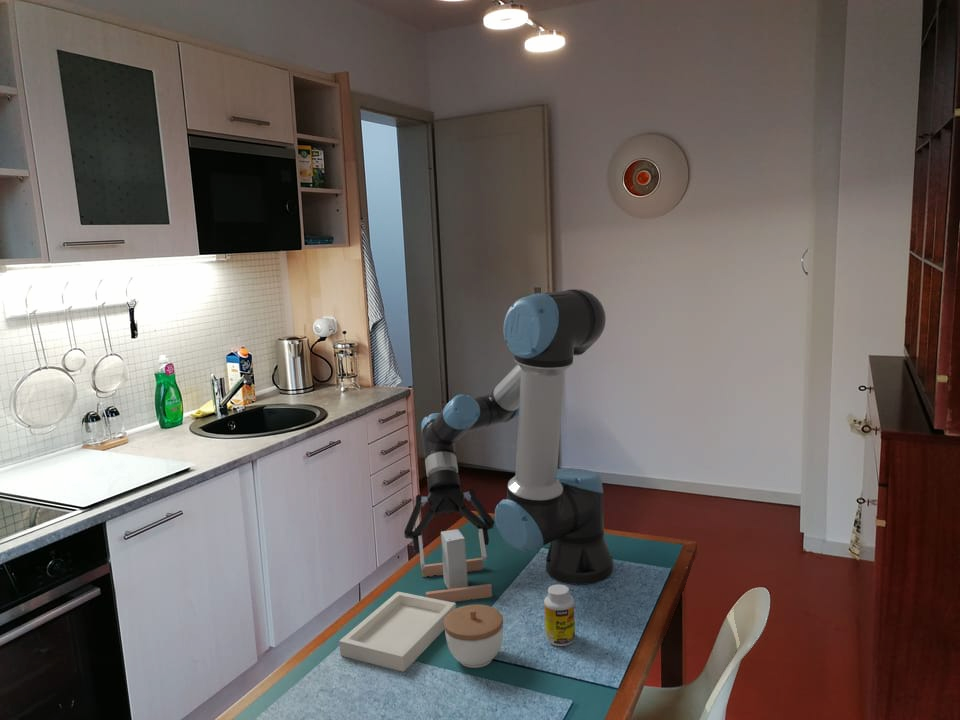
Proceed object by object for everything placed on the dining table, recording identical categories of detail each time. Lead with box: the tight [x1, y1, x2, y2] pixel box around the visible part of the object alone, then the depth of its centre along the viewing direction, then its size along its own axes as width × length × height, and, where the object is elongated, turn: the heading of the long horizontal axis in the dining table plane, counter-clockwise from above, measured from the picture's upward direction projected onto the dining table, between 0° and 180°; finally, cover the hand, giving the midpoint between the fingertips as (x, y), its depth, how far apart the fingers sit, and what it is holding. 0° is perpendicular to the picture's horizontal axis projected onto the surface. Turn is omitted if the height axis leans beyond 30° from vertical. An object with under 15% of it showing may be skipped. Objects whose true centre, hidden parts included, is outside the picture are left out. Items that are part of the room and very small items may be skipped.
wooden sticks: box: [421, 557, 493, 603], centre depth 157 cm, size 14×14×2 cm
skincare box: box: [440, 528, 469, 589], centre depth 156 cm, size 6×4×12 cm
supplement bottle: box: [543, 584, 576, 647], centre depth 133 cm, size 6×6×10 cm
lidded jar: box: [444, 604, 504, 669], centre depth 129 cm, size 11×11×9 cm
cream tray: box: [338, 591, 457, 673], centre depth 138 cm, size 20×14×3 cm
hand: (453, 563), depth 155 cm, fingers open, 13 cm apart
